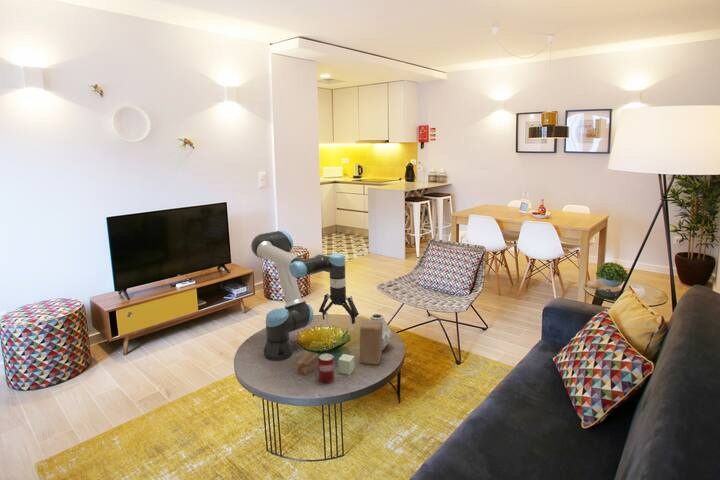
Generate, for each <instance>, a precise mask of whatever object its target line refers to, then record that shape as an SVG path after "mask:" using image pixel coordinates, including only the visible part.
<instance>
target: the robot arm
mask: <svg viewBox="0 0 720 480" xmlns="http://www.w3.org/2000/svg"><path fill="white" fill-rule="evenodd" d="M293 247H294V241H293V238H292V236H291V234H289V232H287V231H286V230H275V231H270V232H265V233H260V234H258V235H256V236H255V237H253V239H252V241H251V245H250V248H251V251H252V254H253V255H254V256H255V257H258V258H259V259H261V260H268V261H270V262H273V263H274V265H275V269H276V271H277V272H276V273H277V275H278V276H277V277H278V279H279V282H280V286H281V289H282V292H283V297H284V300H285V305H284V307H281V308H275V309H272V310H270V311H268V312H267V314H266V316H265V329H266V330H265V332H266V334H265V335H266V342H265V345H264V348H263V357H264V358H266V359H267V360H270V361H282V360H286V359H289V358H291V357H292V355H293V354H294V348H293V346H292V343H291V340H290V333H292V332H294V331H297V330H300V329H303V328H306V327H308V326H310V325H311V324H312V323H313V321H314V310H313V308H312V306H311V305H310V304H308V303H307V302H306V300H305V299H303V298H302V295H301V291H300V287H299V285H298V282H297V278H302V277H306V276H309V275H313V274H316V273H317V274H318V273H321V272H327V273H329V286H330V287H329V292H330V294H329V293H326V294H325V295H324V296H323V301H322V303H321V305H320V307H319V310H318V312H319V313H321V314H322V320H323V321H324V328H326V327H328V326H329V313H328V311H329V310H330V309H331V307H332V306H333V305H334V306H342V307H343V308H344V310H345V311H346V312H347V313H348V315H349V316H350V317H349V331H351V332H352V331H353V330H354V327H355V326H354V324H355V323H356V318H357V317H358V316H359V315H360V313H359V312H358V309H357V308H356V305H355V303H354V300H353V297H352V296H347V295H346V294H347V291H346V290H347V289H346V288H347V287H346V285H347V283H346V282H347V281H346V257H345V255H344V254H343V253H339V252H338V253H336V252H335V253H332V254H331V253H330V254H329V255H325V254H319V253H317V254H315V255H313V256H312V257H310V258H306V259H304V258H301V257H299V256H297V255H294V254H293V253H292V249H293ZM329 299H330V302H329V304H328V300H329ZM327 304H328V305H327ZM326 305H327V306H326Z"/></svg>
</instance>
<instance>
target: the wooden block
mask: <svg viewBox="0 0 720 480" xmlns="http://www.w3.org/2000/svg"><path fill="white" fill-rule="evenodd" d="M382 353H383V350H382V322H381V321H371V320H369V319H364V320H362V323H361V325H360V327H359V363H360V364H367V365H374V366H375V365H377V366H378V365H380V362H381V358H382V356H383V355H382Z"/></svg>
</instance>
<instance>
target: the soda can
mask: <svg viewBox="0 0 720 480" xmlns="http://www.w3.org/2000/svg"><path fill="white" fill-rule="evenodd" d="M317 367H318V370H317V372H318V381H319V383H321V384H324V385H327V384H331V383H333V382H334V380H335V356H334V355H333V354H330V353H322V354H321V355H318V365H317Z"/></svg>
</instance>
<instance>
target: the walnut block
mask: <svg viewBox="0 0 720 480" xmlns="http://www.w3.org/2000/svg"><path fill="white" fill-rule="evenodd" d="M318 358H319V353H316V352H309V351H308V353H306V355H304V356H303V357H302V358H301V359H299V361H297V366H296V367H297V371H296V372H297V375H298V374H299V375H302V376H306V377H307V376H308V375H309V374H310V373H311V372H312V371H314V369H315V368H316V367H318Z"/></svg>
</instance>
